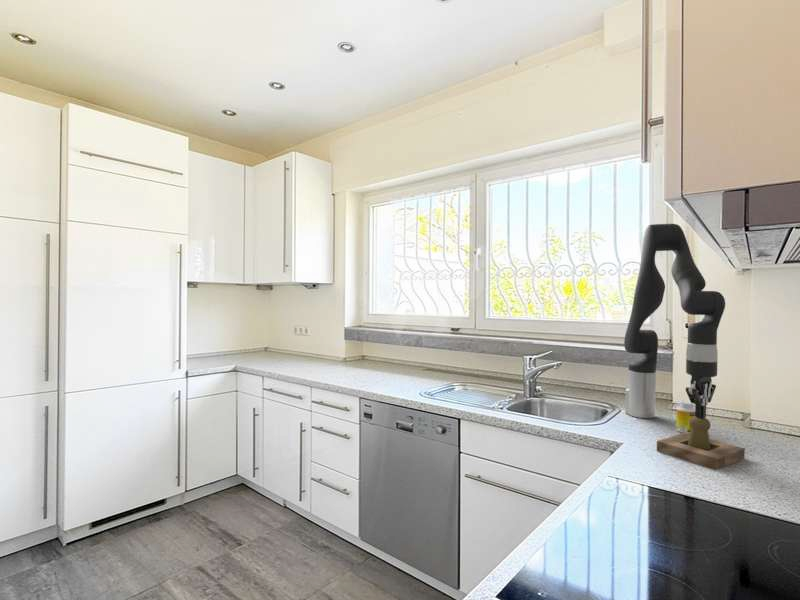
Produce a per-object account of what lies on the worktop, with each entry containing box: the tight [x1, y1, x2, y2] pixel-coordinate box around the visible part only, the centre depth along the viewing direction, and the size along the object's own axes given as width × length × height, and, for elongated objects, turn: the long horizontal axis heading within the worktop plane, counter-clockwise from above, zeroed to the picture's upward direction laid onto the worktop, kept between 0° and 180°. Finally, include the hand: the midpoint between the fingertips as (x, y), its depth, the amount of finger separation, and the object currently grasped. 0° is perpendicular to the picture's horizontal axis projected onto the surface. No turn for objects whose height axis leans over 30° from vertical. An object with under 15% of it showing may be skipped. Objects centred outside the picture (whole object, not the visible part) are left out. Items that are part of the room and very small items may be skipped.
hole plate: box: [656, 432, 746, 471], centre depth 127 cm, size 16×16×3 cm
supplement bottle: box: [675, 400, 696, 434], centre depth 147 cm, size 6×6×10 cm
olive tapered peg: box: [688, 417, 711, 451], centre depth 126 cm, size 6×6×11 cm
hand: (700, 417), depth 126 cm, fingers closed
